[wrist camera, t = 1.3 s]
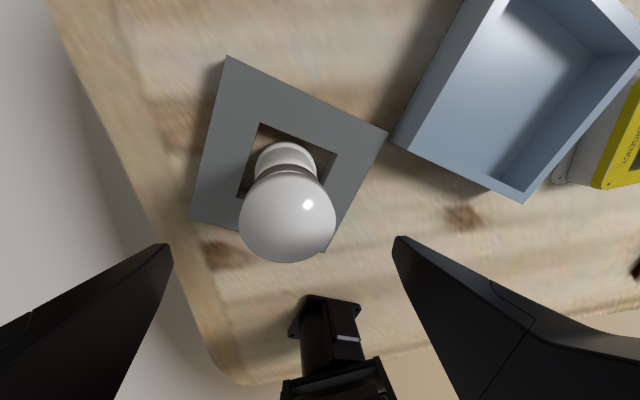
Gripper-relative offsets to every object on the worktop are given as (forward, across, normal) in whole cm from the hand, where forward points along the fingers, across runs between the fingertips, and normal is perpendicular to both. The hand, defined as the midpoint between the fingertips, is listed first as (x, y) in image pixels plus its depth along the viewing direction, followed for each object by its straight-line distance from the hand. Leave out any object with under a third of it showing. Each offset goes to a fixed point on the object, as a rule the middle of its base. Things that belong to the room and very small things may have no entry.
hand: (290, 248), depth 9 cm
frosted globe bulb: (+10, 0, 0) cm, 10 cm away
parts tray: (+9, -16, -6) cm, 19 cm away
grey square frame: (+9, 0, 0) cm, 9 cm away
